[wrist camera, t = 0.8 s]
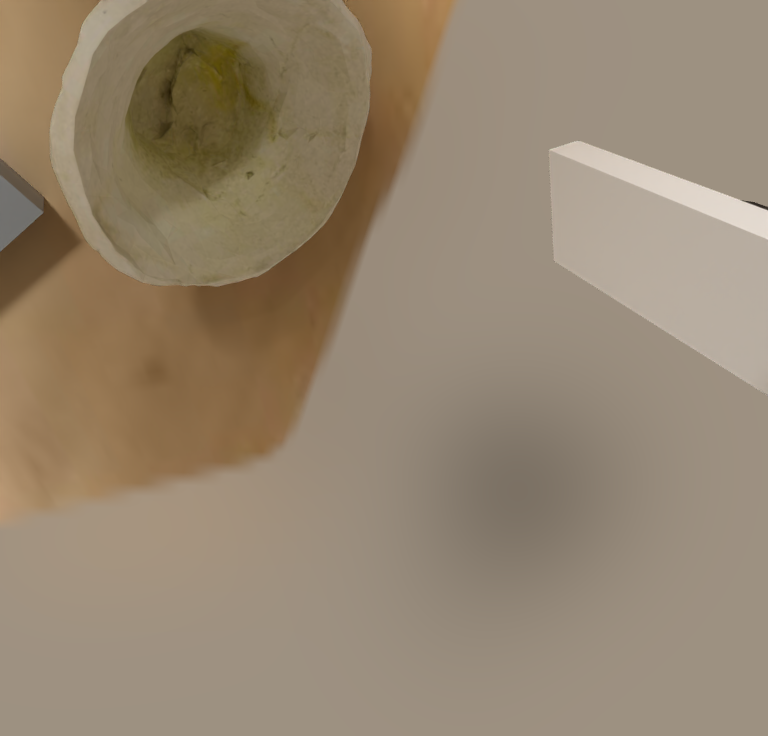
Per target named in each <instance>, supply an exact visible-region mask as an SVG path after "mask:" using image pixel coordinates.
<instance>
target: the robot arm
mask: <svg viewBox="0 0 768 736" xmlns="http://www.w3.org/2000/svg"><path fill="white" fill-rule="evenodd" d="M549 166H550V188H551V207H552V208H551V211H552V233H553V255H554V262H556V263H558V264H559V265H561V266H563V267H564V268H566V269H567V270H569V271H570V272H572V273H574V274H575V275H577V276H578V277H580V278H581V279H583V280H585V281H586V282H588V283H589V284H591V285H593V286H594V287H596V288H597V289H599V290H601V291H602V292H604V293H605V294H607V295H609V296H610V297H612V298H613V299H615V300H617V301H618V302H620V303H621V304H623V305H624V306H626V307H628V308H629V309H631V310H632V311H634V312H636V313H637V314H639V315H640V316H642V317H644V318H645V319H647V320H648V321H650V322H651V323H653V324H655V325H656V326H658V327H659V328H661V329H663V330H664V331H666V332H667V333H669V334H670V335H672V336H674V337H675V338H677V339H678V340H680V341H682V342H683V343H685V344H686V345H688V346H690V347H691V348H693V349H695V350H696V351H698V352H699V353H701V354H702V355H704V356H705V357H707V358H709V359H710V360H712V361H713V362H715V363H717V364H718V365H720V366H721V367H723V368H725V369H726V370H728V371H729V372H731V373H732V374H734V375H736V376H737V377H739V378H741V379H742V380H744V381H745V382H747V383H749V384H750V385H752V386H753V387H755V388H756V389H758V390H759V391H761V392H763V393H764V394H766V395H767V396H768V207H766V206H763V205H760V204H758V203H755V202H749V201H743V200H738V199H736V198H733V197H730V196H727V195H725V194H722V193H719V192H717V191H714V190H711V189H708V188H706V187H703V186H700V185H697V184H695V183H692V182H689V181H687V180H684V179H681V178H679V177H676V176H673V175H671V174H668V173H665V172H662V171H660V170H657V169H654V168H652V167H649V166H646V165H643V164H641V163H638V162H635V161H632V160H630V159H627V158H624V157H621V156H619V155H616V154H613V153H611V152H608V151H605V150H603V149H600V148H597V147H595V146H592V145H589V144H587V143H584V142H581V141H575V142H572V143H569V144H566V145H562V146H559V147H556V148H553V149H550V150H549Z"/></svg>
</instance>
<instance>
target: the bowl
mask: <svg viewBox="0 0 768 736" xmlns="http://www.w3.org/2000/svg"><path fill="white" fill-rule="evenodd" d="M371 61H372V49H371V46H370V45H369V43H368V41H367V39H366V37H365V34H364V31H363V28H362V26H361V24H360V23H359V21H358V20H357V18H356V17H355V16H354V15H353V14H352V13H351V12H350V10H349V9H348V8H347V7H346V5H345V4H344V2H343V0H101V1H100V2H99V3H98V4H97V5H96V6H95V8H94V9H93V10H92V11H91V12H90V14H89V15H88V16H87V18H86V19H85V20H84V22H83V23H82V27H81V30H80V34H79V39H78V44H77V46H76V48H75V50H74V53H73V55H72V57H71V59H70V61H69V64H68V66H67V68H66V70H65V72H64V73H63V75H62V89H61V91H60V94H59V96H58V99H57V102H56V104H55V107H54V111H53V114H52V119H51V125H50V131H49V135H50V159H51V163H52V168H53V170H54V173H55V175H56V177H57V180H58V182H59V185H60V187H61V189H62V191H63V194H64V196H65V198H66V201H67V203H68V205H69V207H70V208H71V210H72V212H73V214H74V216H75V218H76V221H77V223H78V225H79V227H80V229H81V231H82V234H83V236H84V238H85V240H86V241H87V243H88V244H89V245H90V246H91V247H92V248H93V249H94V250H96V251H98V252H99V253H100V255H101V256H102V257H103V258H104V259H105V261H107V262H108V263H109V264H110V265H112V266H113V267H114V268H115V269H117V270H118V271H120V272H122V273H124V274H126V275H128V276H130V277H132V278H134V279H136V280H138V281H140V282H142V283H146V284H151V285H155V286H170V285H181V286H190V285H196V286H203V285H208V286H215V287H219V286H222V285H226V284H230V283H236V282H240V281H243V280H246V279H249V278H253V277H258V276H260V275H262V274H263V273H265V272H267V271H268V270H270V269H271V268H272V267H274V266H275V265H276V264H278V263H279V262H280V261H282V260H283V259H284V258H286V257H287V256H289V255H290V254H292V253H293V252H294V251H296V250H297V249H298V248H299V247H301V246H302V245H303V244H304V243H305V242H307V241H308V240H309V239H310V238H311V237H312V236H313V235H314V234H315V233H316V232H317V231H318V230H319V229H320V228H321V227H323V226H324V224H325V223H326V221H327V220H328V219H329V217H330V216H331V215H332V213H333V211H334V209H335V207H336V205H337V204H338V202H339V200H340V198H341V196H342V194H343V192H344V190H345V187H346V185H347V183H348V180H349V178H350V176H351V174H352V172H353V170H354V167H355V165H356V161H357V157H358V154H359V149H360V144H361V139H362V135H363V131H364V129H365V126H366V122H367V118H368V113H369V106H370V82H369V81H370V78H371V74H372V66H371Z"/></svg>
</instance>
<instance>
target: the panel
mask: <svg viewBox="0 0 768 736" xmlns="http://www.w3.org/2000/svg"><path fill="white" fill-rule="evenodd" d="M43 213H44V197H43V196H42V195H41V194H40V193H39V192H38V191H36V190H35V189H34V188H33V187H32V186H31V185H30V184H28V183H27V182H26V181H25V180H24V179H23V178H22V177H21V176H19V175H18V174H17V173H16V172H15V171H14V170H13V169H12V168H10V167H9V166H8V165H7V164H6V163H5V162H4V161H3V160H1V159H0V252H1V251H2V250H3V249H4V248H5V247H6V246H7V245H8V244H9V243H10V242H12V241H13V240H14V239H15V238H16V237H17V236H18V235H19V234H20V233H22V232H23V231H24V230H25V229H26V228H27V227H28V226H29V225H30V224H31V223H33V222H34V221H35V220H36V219H37V218H38V217H39V216H40V215H41V214H43Z"/></svg>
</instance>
